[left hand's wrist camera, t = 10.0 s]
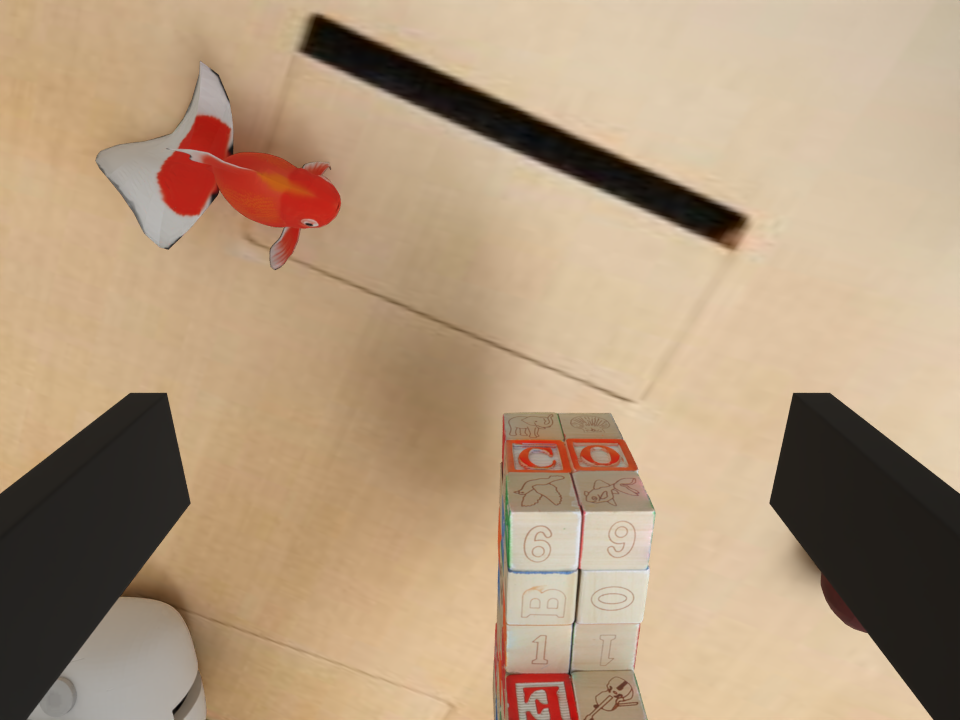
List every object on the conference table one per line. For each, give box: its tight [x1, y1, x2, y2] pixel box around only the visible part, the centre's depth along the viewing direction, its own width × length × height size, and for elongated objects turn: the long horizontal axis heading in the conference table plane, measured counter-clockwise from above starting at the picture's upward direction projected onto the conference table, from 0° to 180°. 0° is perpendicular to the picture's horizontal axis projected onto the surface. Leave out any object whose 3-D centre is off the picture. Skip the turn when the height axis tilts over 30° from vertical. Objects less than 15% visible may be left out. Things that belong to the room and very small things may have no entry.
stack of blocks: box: [493, 412, 655, 720], centre depth 31 cm, size 21×6×12 cm, turn 179°
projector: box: [27, 597, 206, 720], centre depth 49 cm, size 22×23×15 cm
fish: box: [95, 61, 341, 270], centre depth 37 cm, size 11×16×10 cm
